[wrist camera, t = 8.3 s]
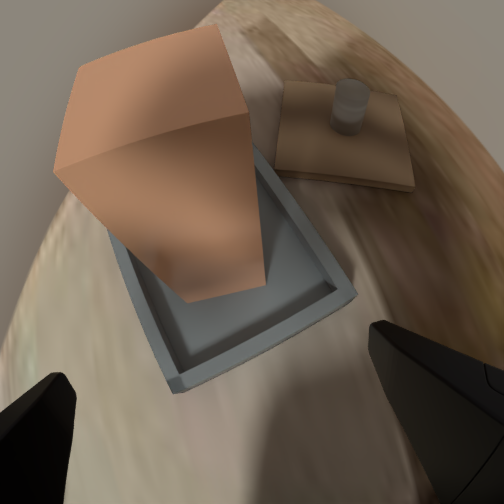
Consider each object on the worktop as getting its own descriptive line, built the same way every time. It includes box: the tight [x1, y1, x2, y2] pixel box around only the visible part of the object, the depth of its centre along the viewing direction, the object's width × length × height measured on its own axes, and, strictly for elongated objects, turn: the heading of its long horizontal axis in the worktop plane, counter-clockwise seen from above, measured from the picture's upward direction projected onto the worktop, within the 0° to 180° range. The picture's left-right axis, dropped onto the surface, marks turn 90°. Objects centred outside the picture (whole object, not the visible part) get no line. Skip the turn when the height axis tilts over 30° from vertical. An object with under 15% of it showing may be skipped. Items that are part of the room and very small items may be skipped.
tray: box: [107, 142, 358, 394], centre depth 19 cm, size 12×11×2 cm
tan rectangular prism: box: [53, 24, 266, 303], centre depth 13 cm, size 6×5×13 cm
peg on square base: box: [274, 79, 415, 193], centre depth 21 cm, size 10×10×4 cm
